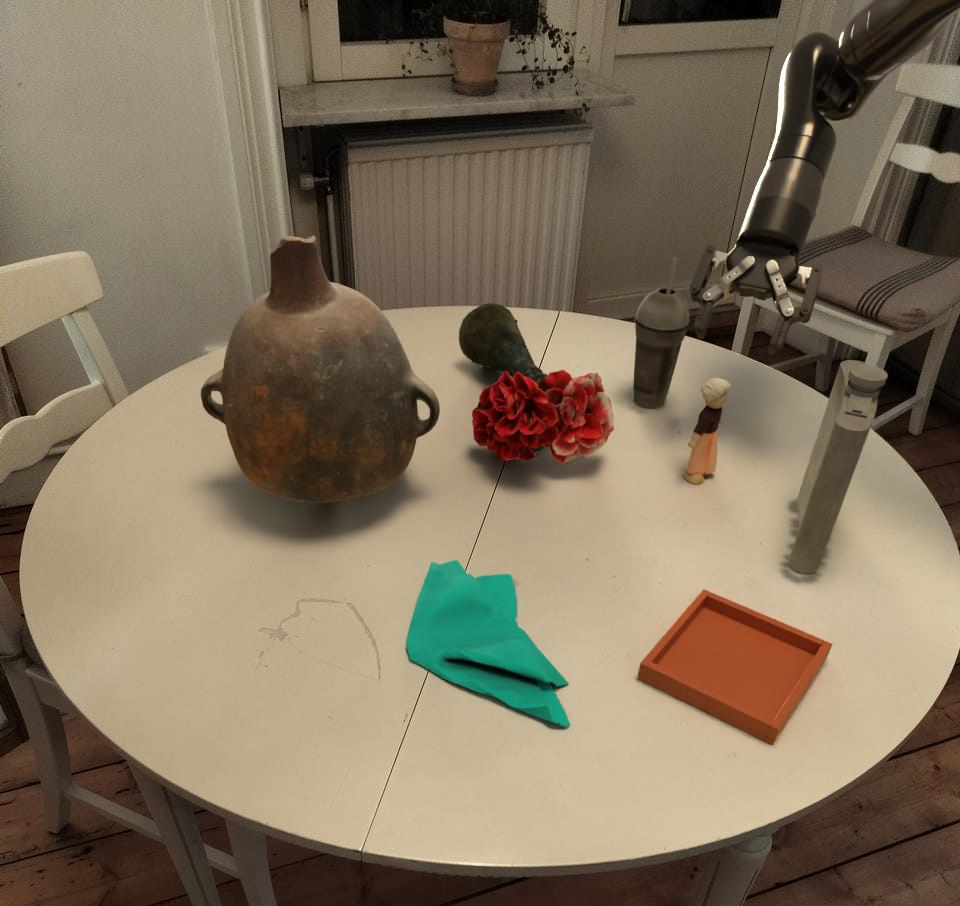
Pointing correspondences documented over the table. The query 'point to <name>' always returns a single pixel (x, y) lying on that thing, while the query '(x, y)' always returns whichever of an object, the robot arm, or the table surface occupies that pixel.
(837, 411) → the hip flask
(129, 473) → the table surface
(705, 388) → the grandmother figurine
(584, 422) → the carnation
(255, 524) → the table surface
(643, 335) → the beverage cup
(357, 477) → the jug
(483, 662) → the cloth
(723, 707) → the figure tray
